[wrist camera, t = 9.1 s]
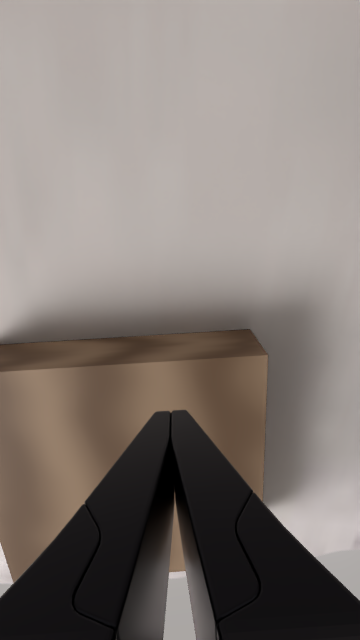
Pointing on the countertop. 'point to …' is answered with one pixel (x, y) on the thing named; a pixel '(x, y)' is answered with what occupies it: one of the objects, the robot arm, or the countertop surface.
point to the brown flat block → (115, 420)
